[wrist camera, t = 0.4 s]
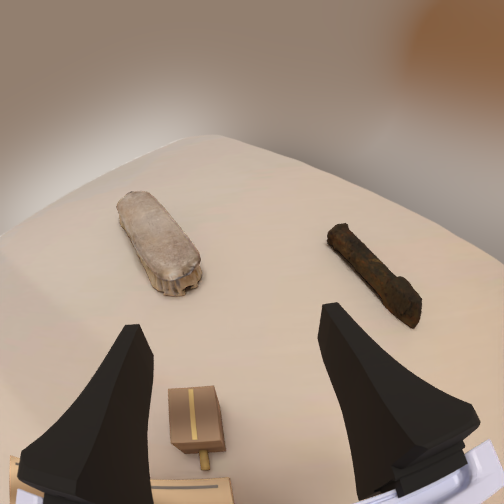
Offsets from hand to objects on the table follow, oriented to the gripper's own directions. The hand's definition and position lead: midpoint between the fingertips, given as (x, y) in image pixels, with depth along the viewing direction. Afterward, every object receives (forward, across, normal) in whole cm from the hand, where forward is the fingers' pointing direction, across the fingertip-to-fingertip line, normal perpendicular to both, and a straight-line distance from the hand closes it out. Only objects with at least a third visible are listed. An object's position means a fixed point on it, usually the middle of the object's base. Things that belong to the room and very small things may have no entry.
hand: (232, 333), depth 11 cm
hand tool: (+22, -20, +18) cm, 35 cm away
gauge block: (+4, +5, +20) cm, 21 cm away
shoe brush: (+32, +12, +15) cm, 37 cm away
